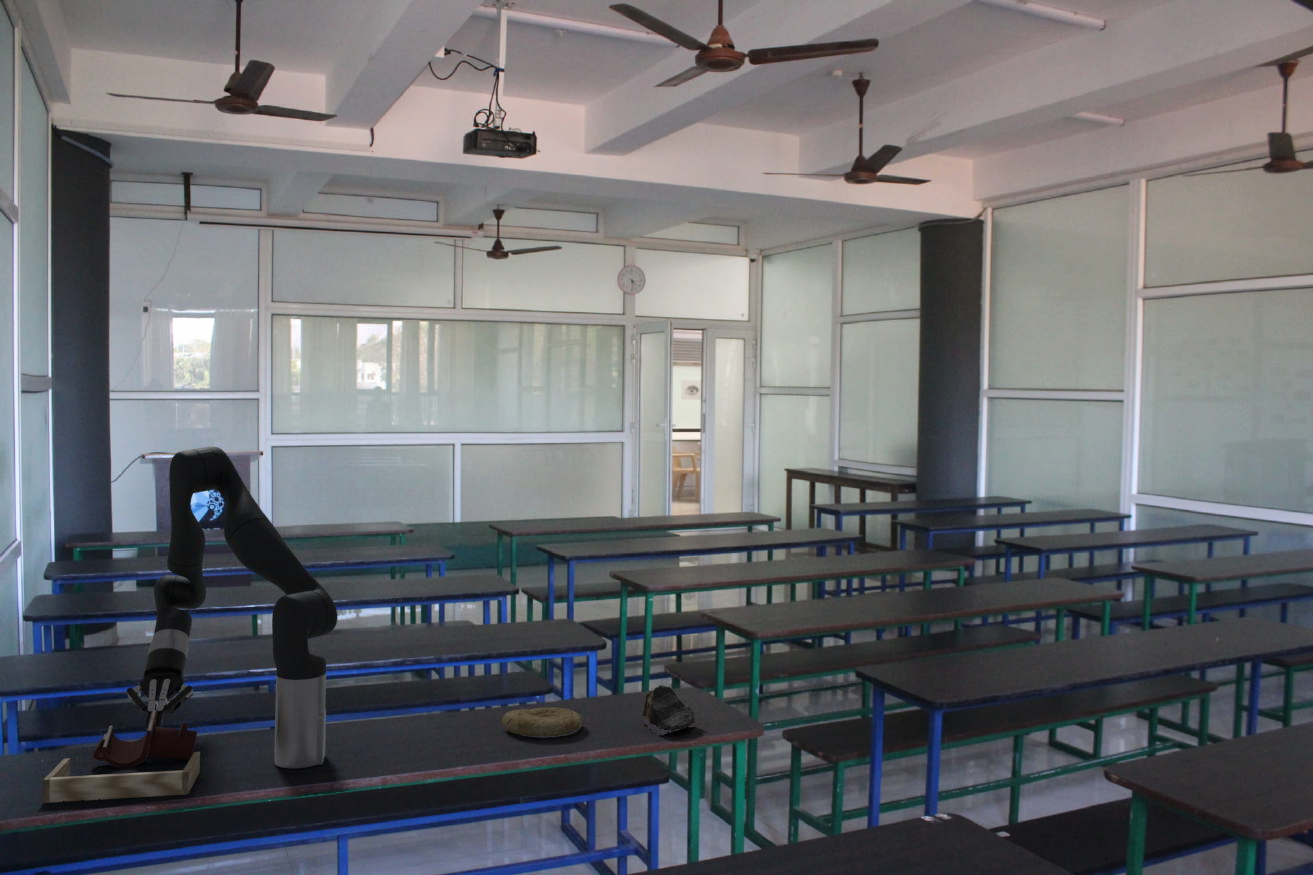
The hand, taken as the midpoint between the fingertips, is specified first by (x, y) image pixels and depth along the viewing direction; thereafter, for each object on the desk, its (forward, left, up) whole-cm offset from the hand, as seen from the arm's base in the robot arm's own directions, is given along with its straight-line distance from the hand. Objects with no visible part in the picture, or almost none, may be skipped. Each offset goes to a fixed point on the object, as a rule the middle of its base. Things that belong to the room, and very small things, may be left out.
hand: (152, 731), depth 201 cm
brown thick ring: (-79, -1, -4) cm, 79 cm away
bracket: (-1, +8, -4) cm, 9 cm away
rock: (-107, +2, -4) cm, 107 cm away
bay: (0, +20, -4) cm, 20 cm away
